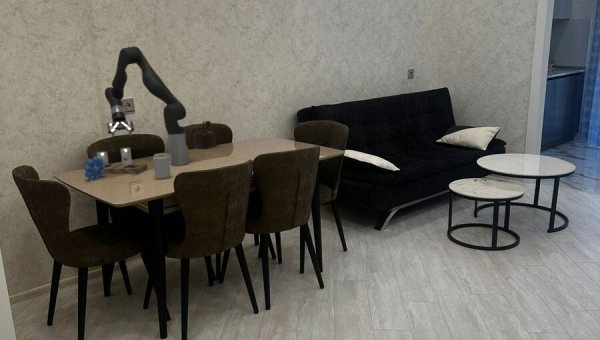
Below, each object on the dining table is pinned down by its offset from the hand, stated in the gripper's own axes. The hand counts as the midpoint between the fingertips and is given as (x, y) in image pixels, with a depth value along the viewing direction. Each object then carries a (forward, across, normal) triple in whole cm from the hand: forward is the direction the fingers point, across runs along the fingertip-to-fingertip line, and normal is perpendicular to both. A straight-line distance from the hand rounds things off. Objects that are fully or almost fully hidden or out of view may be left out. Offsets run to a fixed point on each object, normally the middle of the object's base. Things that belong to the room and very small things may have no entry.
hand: (122, 137), depth 289 cm
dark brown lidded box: (-3, +52, +24) cm, 58 cm away
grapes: (+34, -17, -13) cm, 40 cm away
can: (+45, +14, -23) cm, 52 cm away
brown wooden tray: (+27, -6, -6) cm, 28 cm away
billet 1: (+23, -12, -3) cm, 26 cm away
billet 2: (+18, 0, +2) cm, 19 cm away
